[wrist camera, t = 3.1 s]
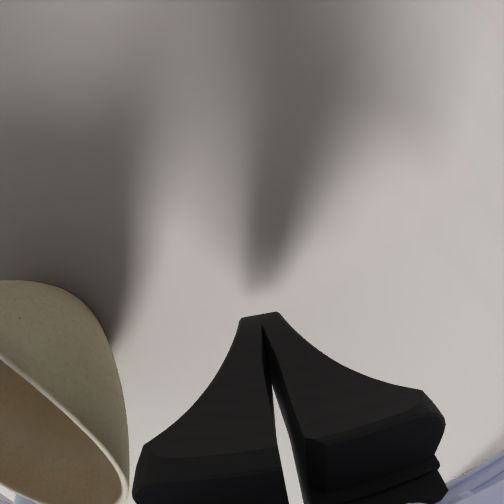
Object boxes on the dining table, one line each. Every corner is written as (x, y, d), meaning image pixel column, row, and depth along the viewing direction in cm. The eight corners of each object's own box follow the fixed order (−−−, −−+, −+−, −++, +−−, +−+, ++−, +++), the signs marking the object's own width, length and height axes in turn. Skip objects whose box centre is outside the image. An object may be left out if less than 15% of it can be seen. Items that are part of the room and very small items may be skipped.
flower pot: (-41, 258, 11) (-130, 322, 5) (113, 205, 12) (6, 281, 5) (37, 407, 15) (-4, 495, 8) (185, 399, 15) (176, 524, 8)
